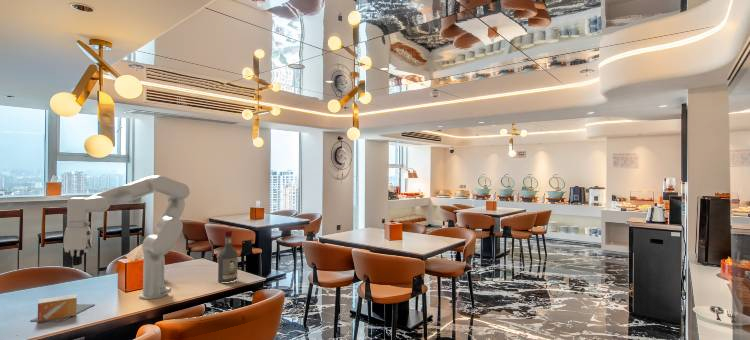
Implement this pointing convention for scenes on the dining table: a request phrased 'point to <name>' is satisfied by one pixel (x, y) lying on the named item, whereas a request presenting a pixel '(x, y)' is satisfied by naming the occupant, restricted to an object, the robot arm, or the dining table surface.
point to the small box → (57, 307)
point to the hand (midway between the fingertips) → (77, 264)
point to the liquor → (227, 261)
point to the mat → (78, 309)
